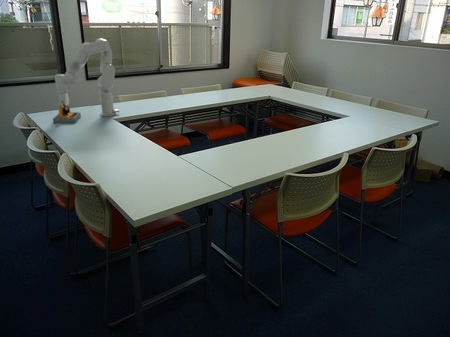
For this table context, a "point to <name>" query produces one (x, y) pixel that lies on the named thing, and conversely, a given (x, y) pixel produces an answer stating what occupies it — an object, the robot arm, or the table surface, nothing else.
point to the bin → (67, 120)
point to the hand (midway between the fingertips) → (66, 113)
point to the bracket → (70, 115)
